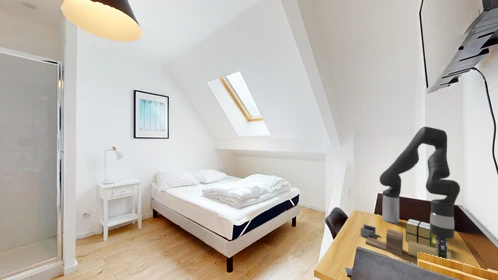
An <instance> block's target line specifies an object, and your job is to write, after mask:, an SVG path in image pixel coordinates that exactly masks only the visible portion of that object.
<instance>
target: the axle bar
mask: <svg viewBox="0 0 498 280" xmlns="http://www.w3.org/2000/svg"><path fill="white" fill-rule="evenodd" d="M417 252H422V253H426V254H430V255H434V256H438V250H437V249H436V247H432V246H431V247H429V246H426V245H423V244H419V243H416V242H412V241H409V242H408V245H407V254H408V255H409V256H413V257H415V258H418V257H417ZM440 254H443V253H440ZM443 255H444V254H443ZM446 259H450V260H451V261H452V254H451V252H449V251H448V253H447V258H446Z"/></svg>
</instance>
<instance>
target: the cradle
mask: <svg viewBox="0 0 498 280" xmlns="http://www.w3.org/2000/svg"><path fill="white" fill-rule="evenodd" d="M376 230H377V228H376V227H375V226H372V225H369V224H363V227H361V228H360V236H361V237H364V238H366V239H367V238H368V237H370V238H373V239H375V236H376V232H377V231H376Z"/></svg>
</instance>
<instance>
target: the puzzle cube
mask: <svg viewBox="0 0 498 280" xmlns="http://www.w3.org/2000/svg"><path fill="white" fill-rule="evenodd" d="M433 240H434V234H432V233H431V232H430V223H427V222H424V221H419V220H415V219H411V218H409V219H408V220H407V222H406V223H405V242H408V243H409V241H412V242H416V243H419V244H423V245H426V246H429V247H432V246H433V243H434V242H433Z"/></svg>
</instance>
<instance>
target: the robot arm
mask: <svg viewBox="0 0 498 280" xmlns="http://www.w3.org/2000/svg"><path fill="white" fill-rule="evenodd" d="M422 144H424V145H426V146H427V145H429V146H432V147H434V150H435V151H434V152H433V153H432V154H431V155H430V156H429V157H428V159H427V169H428V177H427V180H426V182H425V189H426V191H427V192H428V193H430V194H432V195H436V196H437V195H438V196H439V195H440V196H445V198H441V199H440V198H438V199H432V200H431V202H430V214H429V215H430V216H429V224H430V232H431V233H432V234H433V236H434V235H435V238H434V240H435V241H434V242H435V246H436V247H435V248H436V249H437V250H438V257H442V258H445V259H446V258H447V253H448V252H449V251H448V250H449V249H448V248H449V240H448V239H454V238H455V218H454V213H455V212H454V210H455V209H454V208H455V204H456V200H457V198H458V196H459V194H460V191H461V186H460V184H459V183H458V182H457V181H456V180H453V179H447V178H449V177H450V175H451V172H450V171H451V170H450V166H449V163H448V157H447V155H448V135H447V132H446V131H445V130H443V129H440V128H435V127H434V128H433V127H430V126H422V127H421V128H420V129H419V130H417V132H416V134H415V135H414V136H413V138H412V139H411V141H410V142H409V144H408V145H407V146H406V148H404V150H403V151H402V152H401V153H400V154H399V155H398V156H397V158H396V159H395V160H394V162H393V163H392V164H391V165H390V166H389V167H388V168H387V169H386V170H385V171H383V172H382V173H381V175H380V176H379V183H380V184H381V186H384V187H388V189H387V188H386V189H384V190H383V191H382V215H381V216H382V219H381V220H382V221H384V222H386V223H390V224H399V223H400V195H401V190H402V189H401V188H402V178H401V174H404V173H406V172H408V171H410V170H412V169H413V168H414V167H415V166H416V165H417V164H418V163H419V160H420V155H419V148H420V146H421V145H422ZM440 253H443V254H444V255H443V254H440Z"/></svg>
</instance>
